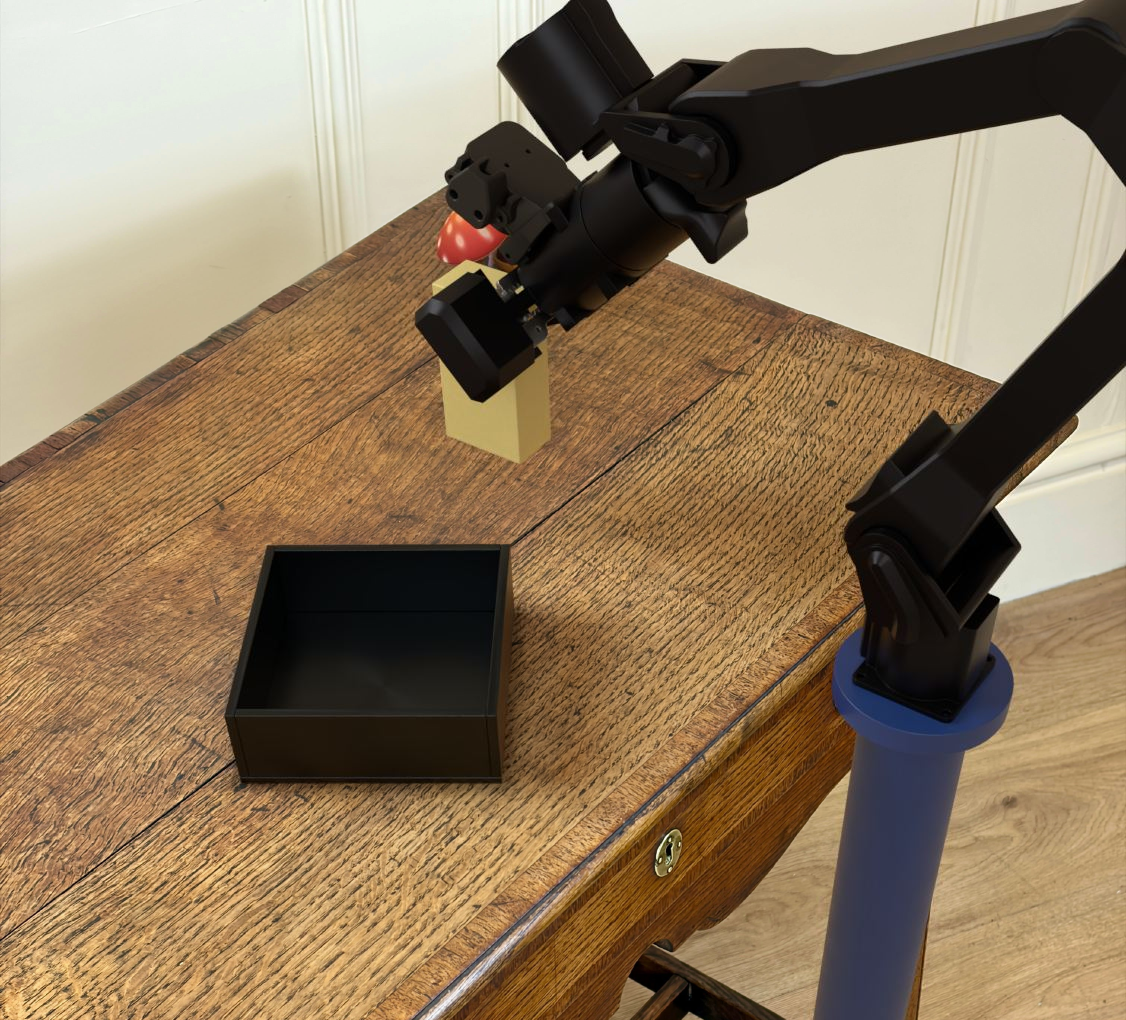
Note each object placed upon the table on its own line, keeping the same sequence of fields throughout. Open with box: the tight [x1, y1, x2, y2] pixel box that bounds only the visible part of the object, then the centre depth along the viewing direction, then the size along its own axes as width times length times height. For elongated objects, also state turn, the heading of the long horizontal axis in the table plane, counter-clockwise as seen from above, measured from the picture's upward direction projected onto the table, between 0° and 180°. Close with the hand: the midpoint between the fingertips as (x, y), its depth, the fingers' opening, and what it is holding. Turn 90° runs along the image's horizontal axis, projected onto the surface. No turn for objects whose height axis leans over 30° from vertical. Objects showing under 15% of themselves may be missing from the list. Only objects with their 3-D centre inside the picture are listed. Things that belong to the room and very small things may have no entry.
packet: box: [431, 260, 552, 465], centre depth 99 cm, size 4×6×11 cm, turn 55°
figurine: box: [436, 210, 518, 273], centre depth 127 cm, size 12×9×8 cm
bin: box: [223, 543, 516, 784], centre depth 94 cm, size 15×15×6 cm
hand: (475, 342), depth 99 cm, fingers closed on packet, 3 cm apart
